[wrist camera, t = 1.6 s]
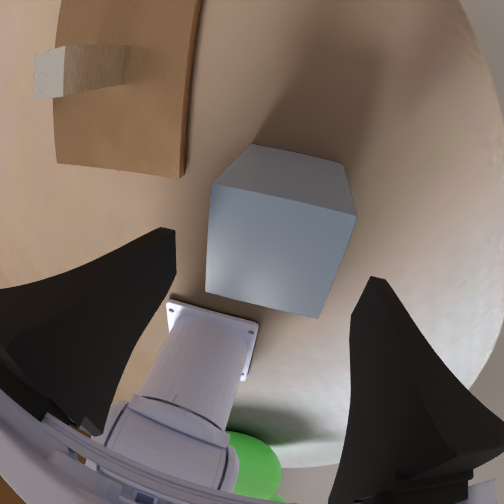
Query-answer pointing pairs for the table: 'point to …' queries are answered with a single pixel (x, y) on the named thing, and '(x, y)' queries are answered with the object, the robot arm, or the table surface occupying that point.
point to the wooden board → (121, 83)
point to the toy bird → (256, 468)
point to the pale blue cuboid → (278, 229)
